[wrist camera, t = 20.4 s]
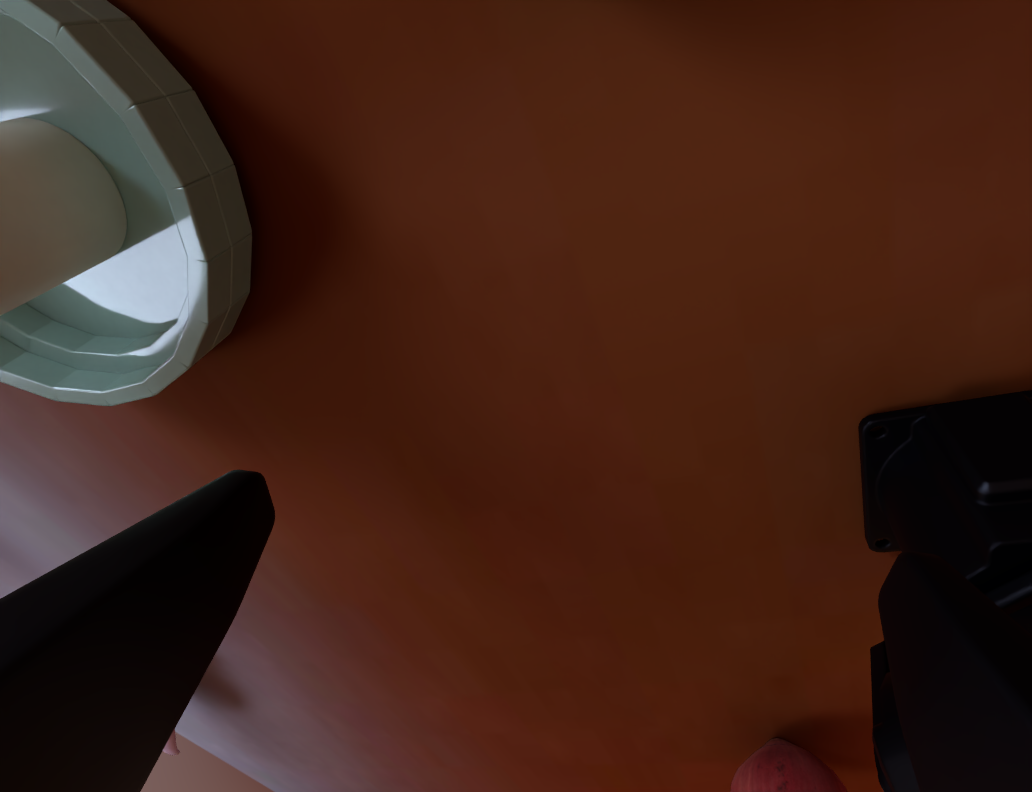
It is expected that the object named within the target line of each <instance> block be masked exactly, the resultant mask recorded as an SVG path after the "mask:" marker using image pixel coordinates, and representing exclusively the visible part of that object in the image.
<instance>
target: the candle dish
mask: <svg viewBox="0 0 1032 792" xmlns="http://www.w3.org/2000/svg"><path fill="white" fill-rule="evenodd" d="M17 118H31V119H36V120H41V121H44V122H47V123H50V124H52V125H54V126H56V127H59V128H61V129H62V130H64V131H66V132H67V133H69V134H71V135H72V136H73V137H75V138H76V139H78V140H79V141H80V142H81V143H82V144H84V145H85V146H86V147H87V148H88V149H89V150H90V151H91V152H92V153H93V154H94V155H95V156H96V157H97V158H98V159H99V161H100V162H101V163H102V164H103V165H104V167H105V168H106V170H107V171H108V172H109V174H110V176H111V177H112V179H113V181H114V182H115V184H116V186H117V188H118V190H119V192H120V195H121V198H122V200H123V203H124V207H125V211H126V218H127V230H126V236H125V239H124V242H123V244H122V246H121V248H120V250H119V251H118V252H117V253H116V254H115V255H114V256H112V257H111V258H110V259H108V260H106V261H104V262H102V263H100V264H98V265H96V266H94V267H92V268H91V269H89V270H87V271H85V272H83V273H81V274H79V275H77V276H75V277H73V278H72V279H70V280H68V281H66V282H64V283H62V284H60V285H58V286H56V287H54V288H52V289H51V290H49V291H47V292H45V293H43V294H41V295H39V296H37V297H35V298H33V299H32V300H30V301H28V302H26V303H24V304H22V305H20V306H18V307H16V308H14V309H13V310H11V311H9V312H7V313H5V314H3V315H1V316H0V381H1V382H2V383H5V384H8V385H11V386H14V387H17V388H19V389H22V390H25V391H28V392H31V393H34V394H37V395H40V396H43V397H45V398H48V399H51V400H54V401H59V402H69V403H80V404H90V405H101V406H114V405H118V404H123V403H127V402H131V401H135V400H139V399H144V398H148V397H152V396H155V395H157V394H159V393H160V392H161V391H163V390H164V389H165V388H166V387H167V386H169V385H170V384H171V383H172V382H174V381H175V380H176V379H177V378H179V377H180V376H181V375H182V374H184V373H185V372H186V371H187V370H189V369H190V368H191V367H192V366H193V365H194V364H196V363H197V362H198V361H199V360H200V359H201V358H203V357H204V356H205V355H206V354H207V353H208V352H209V351H211V350H212V349H213V348H214V347H215V346H217V345H218V344H219V343H220V342H221V341H222V340H224V339H225V338H226V337H227V336H228V335H229V334H230V333H231V332H232V329H233V327H234V325H235V323H236V321H237V319H238V317H239V314H240V312H241V310H242V308H243V306H244V304H245V301H246V299H247V297H248V295H249V293H250V279H251V256H252V234H251V233H252V228H251V225H250V221H249V217H248V213H247V209H246V206H245V202H244V198H243V194H242V190H241V187H240V183H239V179H238V175H237V172H236V168H235V165H233V164H234V162H233V160H232V158H231V157H230V155H229V153H228V151H227V149H226V148H225V146H224V144H223V142H222V140H221V138H220V137H219V135H218V133H217V131H216V129H215V127H214V126H213V124H212V122H211V120H210V118H209V116H208V115H207V113H206V111H205V109H204V107H203V105H202V104H201V102H200V100H199V98H198V96H197V94H196V93H195V91H194V90H192V87H191V86H190V85H189V84H188V82H187V81H186V80H185V79H184V78H183V77H182V76H181V74H180V73H179V72H178V71H177V70H176V69H175V68H174V66H173V65H172V64H171V63H170V62H169V61H168V60H167V58H166V57H165V56H164V55H163V54H162V53H161V51H160V50H159V49H158V48H157V47H156V46H155V45H154V43H153V42H152V41H151V40H150V39H149V38H148V37H147V35H146V34H145V33H144V32H143V31H142V30H141V29H140V27H139V26H138V25H137V24H136V23H135V22H134V21H133V20H131V18H130V17H129V16H127V15H126V14H125V13H123V12H122V11H121V10H119V9H118V8H116V7H115V6H114V5H112V4H111V3H110V2H108V1H107V0H0V122H2V121H6V120H11V119H17Z"/></svg>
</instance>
